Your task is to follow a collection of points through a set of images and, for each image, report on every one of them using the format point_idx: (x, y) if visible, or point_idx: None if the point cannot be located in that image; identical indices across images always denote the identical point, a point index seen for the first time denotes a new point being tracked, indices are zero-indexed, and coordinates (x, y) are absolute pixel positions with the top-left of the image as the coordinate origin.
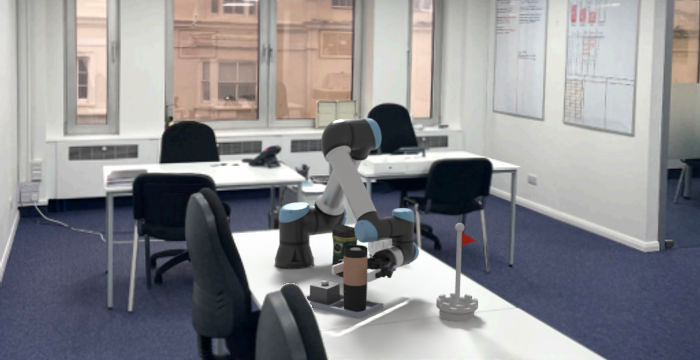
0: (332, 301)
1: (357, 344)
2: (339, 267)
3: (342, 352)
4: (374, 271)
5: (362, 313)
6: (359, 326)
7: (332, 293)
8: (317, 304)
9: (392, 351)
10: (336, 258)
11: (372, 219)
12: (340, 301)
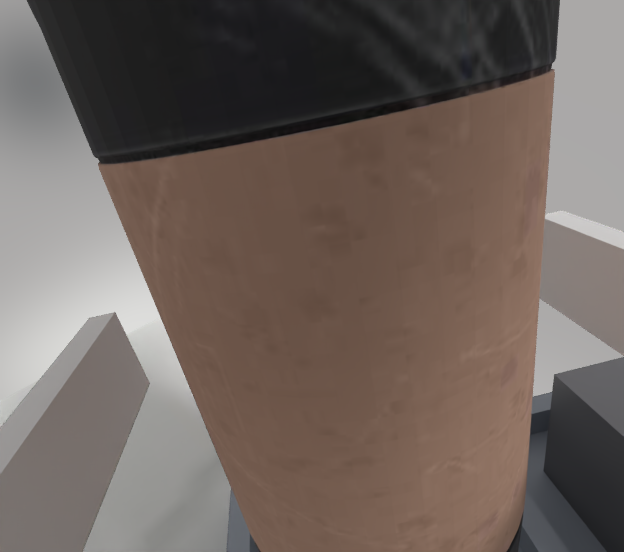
0: (598, 519)
1: (143, 365)
2: (617, 288)
3: (161, 323)
4: (36, 388)
5: (231, 496)
6: (214, 459)
7: (606, 473)
8: (534, 399)
9: (16, 404)
10: None
11: None
12: (536, 542)
